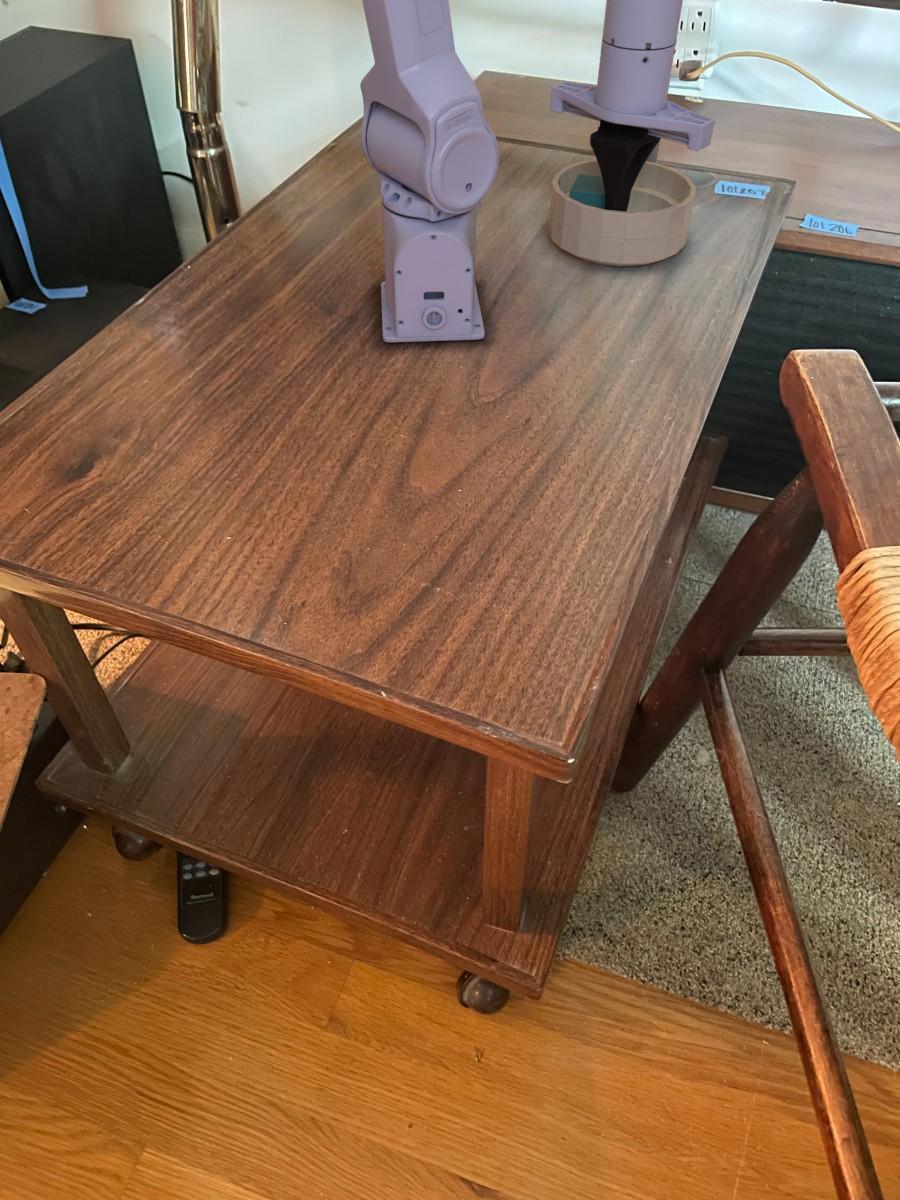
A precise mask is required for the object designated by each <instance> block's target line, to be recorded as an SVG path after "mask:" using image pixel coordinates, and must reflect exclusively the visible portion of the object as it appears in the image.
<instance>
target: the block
mask: <svg viewBox="0 0 900 1200" xmlns="http://www.w3.org/2000/svg"><path fill="white" fill-rule="evenodd" d="M569 197H570V198H571V199H574V200H576V201H578V202H580V203H583V204H585V205H588V206H592V207H596V208H601V209H605V198H606V197H605V190H604V184H603V179H602V177H598V176H589V175H578V177H577V178H576V180H575V182H574V184H573V186H572V188H571V190H570V195H569Z"/></svg>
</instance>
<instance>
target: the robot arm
mask: <svg viewBox="0 0 900 1200" xmlns="http://www.w3.org/2000/svg"><path fill="white" fill-rule="evenodd" d="M683 1H684V0H606V2H605V9H604V10H605V11H604V19H603V28H602V38H601V46H600V54H599V55H600V56H599V64H598V73H597V74H598V75H597V82H596V85H589V84H583V83H582V84H581V83H576V82H570V81H566V80H564V81H562V82H560V83H557V84H555V85H552V86H551V95H550V108H549V111H550V112H553V113H556V114H562V113H564V112H565V113H569V114H572V115H575V116H579V117H583V118H585V119H591V120H594V121H598V122H599V126H598V127H597V130H595V131H593V132H592V133H591V134H590V136H589V137H590V138H589V145H590V147H591V149H592V151H593V153H594V157H595V159H597V162H598V164H599V168H600V171H601V175H602V179H603V184H604V190H605V197H606V198H605V210H613V211H623V212H627V208H628V204H629V200H630V193H631V190H632V188H633V185H634V183H635V181H636V179H637V177H638V175H639V173H640V171H641V169H642V167H643V165H644V164H645V162H646V160H647V159H648V157H649V155H650V154H651V152H652V151H653V149H654V148H655V146H656V145H657V144H658V142H659V141H660V142H661V139H663V140H667V141H670V142H673V143H678V144H682V145H685V146H686V148H687V149H688V150H690V151H694V152H700V151H701V150H704V149H705V148H707V147H709V146H710V145H711V142H712V138H713V132H714V128H715V127H714V126H715V122H716V119H715V118H712V117H709V116H704V115H702V114H699V113H697V112H695V111H692V110H690V109H687V108H686V107H683V106H681V105H679V104H677V103H675V102H672V101H670V100H668V95H669V89H668V88H670V83H671V76H672V70H673V69H672V68H673V62H674V58H675V57H674V56H675V50H676V44H677V38H678V33H679V26H680V20H681V15H682V9H683ZM361 2H362V7H363V12H364V16H365V17H364V18H365V21H366V26H367V31H368V36H369V39H370V40H369V41H370V46H371V51H372V56H373V61H374V63H373V65H372V67H371V68H370V69H369V70H368V72H367V73H366V74H365V75H364V76H363V78H362V79H361V81H360V83H359V84H360V85H359V86H360V87H359V88H360V92H361V96H362V102H363V115H362V121H361V127H360V146H361V150H362V153H363V155H364V158H365V160H366V162H367V163H368V165H369V166H370V167H371V168H372V169H373V170H374V171H376V172H377V177H378V178H377V179H378V189H379V190H380V200H381V202H380V203H381V222H382V240H383V241H382V243H383V259H384V260H383V261H384V280H385V281H382V282H381V283H380V295H381V296H380V297H381V322H382V326H381V327H382V340H383V341H384V342H386V343H416V342H418V343H419V342H421V343H422V342H449V341H476V340H477V341H479V340H483V339H484V338H485V337H486V336H485V335H486V332H485V326H484V321H483V316H482V311H481V306H480V300H479V295H478V290H477V286H476V278H475V277H476V275H475V274H476V245H477V244H476V242H477V241H476V240H477V210H479V209H481V208H482V201H483V200H484V199H485V198H486V196H487V195H488V194H489V191H490V190H491V188H492V187H493V186H494V185H493V184H494V183H495V180H496V177H497V174H498V171H499V164H500V147H499V143H498V139H497V137H496V135H495V132H494V131H493V130H492V128H491V126H490V125H489V124H488V121H487V120H486V117H485V114H484V109H483V104H482V103H483V102H482V94H481V93H480V90H479V89H478V87H477V85H476V84H475V82H474V80H473V78H472V77H471V75H470V74H469V72H468V71H467V69H466V67H465V65H464V64H463V63H462V61H461V60H460V57H459V56H458V54H457V52H456V48H455V40H454V39H455V38H454V32H453V24H452V17H451V10H450V2H449V0H361ZM669 82H670V83H669ZM667 94H668V95H667Z"/></svg>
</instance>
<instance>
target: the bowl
mask: <svg viewBox="0 0 900 1200" xmlns="http://www.w3.org/2000/svg"><path fill="white" fill-rule="evenodd" d="M578 175H589V176H598V177H602V175H601V171H600V168H599V164H598V162H597V159H596V158H591V159H587V160H586V159H585V160H581V161H577V162H574V163H572V164H571V163H570V164H568V165H566V166H564V167H562V168H561V169H560V170H558V171H557V172H556V173H555V175H554V176H553V179H552V181H551V192H550V203H549V214H548V227H547V231H548V233H549V236H550V240H551V241H552V242H553V243H554V244H555V245H557V246H558V247H559V249H561V250H564V251H566V252H568V254H571V255H572V256H574V257H576V258H578V259H581V260H583V261H587V262H589V263H594V264H598V265H604V266H613V267H636V266H644V265H650V264H653V263H656V262H659V261H663V260H665V259H668V258H670V257H672V256H675V255H677V253H679V252H680V251H681V250H682V249H683V248H684V247H685V245H686V244H687V240H688V239H687V238H688V233H689V229H690V224H691V219H692V214H693V209H694V203H695V198H696V193H697V186H696V185H695V183H694V182H693V180H692V179H691V177H689V176H687V175H686V174H685V173H683V172H681V171H680V170H678V169H675V168H673V167H670V166H668V165H665V164H662V163H659V162H658V163H657V162H656V163H654V162H649V161H646V162H645V164H644V165H643V167H642V169H641V171H640V173H639V175H638V177H637V179H636V181H635V183H634V185H633V188H632V190H631V193H630V200H629V204H628V208H627V212H623V211H613V210H605V209H601V208H596V207H592V206H588V205H585V204H583V203H580V202H578V201H576V200H574V199H571V198H570V197H569V195H570V190H571V188H572V186H573V184H574V182H575V180H576V178H577V177H578Z"/></svg>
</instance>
